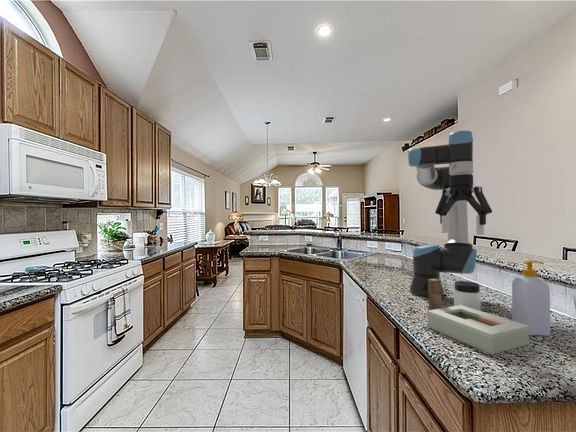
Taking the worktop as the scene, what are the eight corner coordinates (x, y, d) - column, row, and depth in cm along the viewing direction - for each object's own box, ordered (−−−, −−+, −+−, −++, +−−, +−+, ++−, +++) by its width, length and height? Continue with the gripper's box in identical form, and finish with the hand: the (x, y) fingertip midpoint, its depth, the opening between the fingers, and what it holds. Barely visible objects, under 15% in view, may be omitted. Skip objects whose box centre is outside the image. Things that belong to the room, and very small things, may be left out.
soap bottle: (553, 336, 92) (552, 263, 92) (528, 335, 93) (527, 262, 93) (535, 326, 101) (534, 258, 101) (512, 325, 102) (511, 258, 102)
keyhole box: (427, 326, 102) (427, 310, 102) (461, 320, 108) (460, 304, 108) (491, 354, 81) (491, 334, 81) (528, 344, 87) (528, 325, 87)
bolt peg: (425, 316, 113) (424, 279, 112) (434, 314, 114) (434, 278, 114) (435, 320, 108) (435, 281, 108) (445, 318, 110) (444, 280, 110)
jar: (456, 317, 111) (456, 285, 110) (451, 310, 118) (451, 280, 118) (484, 319, 108) (483, 286, 108) (477, 312, 116) (477, 281, 116)
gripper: (425, 178, 117) (425, 232, 117) (488, 169, 94) (489, 235, 94) (438, 179, 120) (439, 231, 120) (504, 170, 97) (504, 235, 97)
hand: (461, 233), depth 107 cm, fingers open, 13 cm apart
